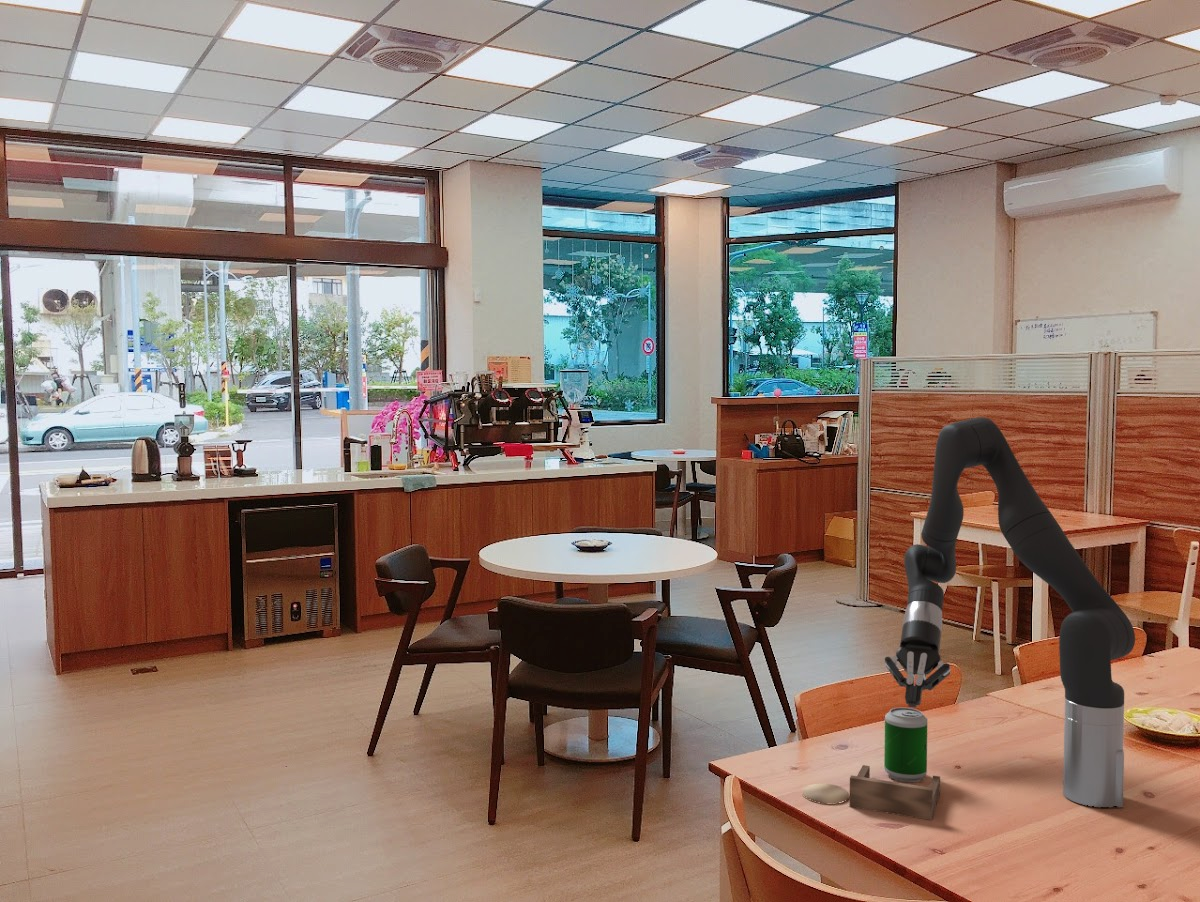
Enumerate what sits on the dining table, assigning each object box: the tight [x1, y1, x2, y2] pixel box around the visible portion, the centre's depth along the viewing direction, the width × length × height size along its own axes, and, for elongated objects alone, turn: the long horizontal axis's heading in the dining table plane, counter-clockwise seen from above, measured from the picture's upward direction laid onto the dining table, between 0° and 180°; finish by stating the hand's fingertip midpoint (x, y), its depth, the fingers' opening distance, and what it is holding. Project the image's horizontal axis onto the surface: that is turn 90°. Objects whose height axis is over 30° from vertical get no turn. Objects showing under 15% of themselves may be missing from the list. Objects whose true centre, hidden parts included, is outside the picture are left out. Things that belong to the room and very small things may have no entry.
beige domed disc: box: [801, 783, 850, 804], centre depth 174 cm, size 8×8×1 cm
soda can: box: [883, 707, 928, 783], centre depth 183 cm, size 8×8×12 cm
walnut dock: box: [849, 764, 941, 821], centre depth 172 cm, size 13×12×5 cm
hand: (912, 705), depth 191 cm, fingers closed
